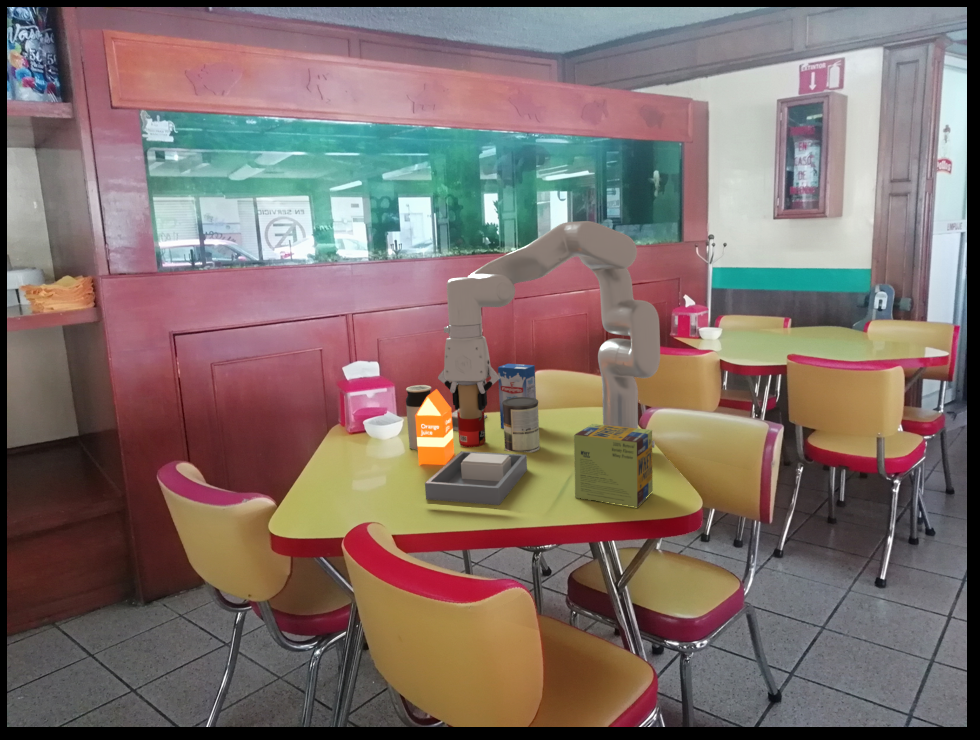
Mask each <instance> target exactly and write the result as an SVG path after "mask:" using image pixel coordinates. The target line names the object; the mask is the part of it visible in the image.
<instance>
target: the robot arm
mask: <svg viewBox="0 0 980 740" xmlns="http://www.w3.org/2000/svg"><path fill="white" fill-rule="evenodd" d="M637 254H638V250H637V244H636V243H635V242H634V240H633V238H631V236H629V235H627V234H625V233H623V232H620V231H617V230H616V229H613V228H610V227H608V226H605V225H603V224H601V223H598V222H595V221H588V220H584V221H583V220H582V221H580V220H579V221H567V222H563V223H560V224H558V225H556V226H555V227H553V228H551V229H550V230H549V231H547V232H545V233H544V234H543V235H541V236H539V237H537V238H536V239H535V240H533V241H532V242H530V243H529V244H527V245H525V246H523V247H521V248H519V249H516V250H514V251H512V252H509V253H507V254H504V255H503V256H500V257H498V258H496V259H493V260H491V261H490V262H487V263H486V264H484V265H483V266H481V267H480V268H478V269H476V270H475V271H473V272H472V273H470V275H468V276H467V277H466V276H464V277H463V276H462V277H453V278H450V279H448V281H446V282H447V283H446V295H447V297H446V298H447V300H446V301H447V313H448V325H447V326H444V327H443V333H444V334H445V333H446V334H448V337H447V338H446V341H445V346H444V359H443V360H444V366H443V367H444V368H443V370H442V371H441V372H440V373H439V374H438V376H437V379H438V380H439V381H440V382H441V383H443V384H444V386H446V388H447V389H448V390H449V391H450V393H451V394H452V405H453V406H454V411H456V410H458V409H459V397H458V384H457V382H462V381H468V382H477V385H478V388H479V390H480V391H479V394H478V407H479V410H483V409H484V410H485V409H486V407H487V406H488V394H487V392H488V391H489V389H490V388H492V386H493V385H494V384H495V383H497V382H499V379H500V377H499V375H498V372H497V371H495V369H494V368H493V367H492V365H491V360H490V359H491V357H490V353H489V347H488V343H487V338H486V337H485V336H483V324H482V323H483V321H482V320H483V319H482V308H484V307H485V308H503V307H505V306H507V305H508V304H510V303H511V302H512V301H513V299H514V297H515V294H516V287H515V284H519V283H526V282H530V281H535V280H537V279H540V278H541V279H542V278H543V277H545V276H547V275H548V274H550V273H551V272H553V271H554V270H555V269H558V268H559V267H560V266H561V265H562V264H564V263H566V262H568V261H569V260H570V259H572V258H575V257H578V259H579V260H580V261H581V263H582V264H583V265H584V266H586V267H587V268H588V269H590V271H591V272H592V273H593V274H594V276H595V277H596V279H597V281H598V286H599V293H600V295H599V296H600V311H601V312H600V313H601V314H600V315H601V323H602V326H603V327H602V328H603V329H604V331H606V332H608V333H610V334H614V335H619V336H620V335H621V336H627V337H628V336H629V337H630V339H628V338H620V337H619V338H617V337H616V338H610V339H607V340H606V341H604V342H603V343H602V344H601V346H600V347H599V349H598V353H597V361H598V368H599V371H600V376H601V386H602V387H601V388H602V389H601V391H602V392H601V393H602V425H609V426H620V427H629V428H637V429H639V409H638V408H639V406H638V405H639V404H638V403H639V402H638V401H639V399H638V397H639V391H638V390H639V389H638V384H637V381H636V379H635V378H638V379H639V378H640V379H648V378H651V377H653V376H654V375H655V374H656V373H657V371H658V370H659V367H660V363H661V362H660V361H661V337H660V335H661V334H660V333H661V332H660V317H659V313H658V311H657V309H656V307H655V306H654V305H653V304H652V303H650V302H648V301H647V300H641V299H634V292H633V291H634V290H633V280H632V277H631V273H630V271H629V269H628V268H629V267H631V266H632V265H633V264H634V262H635V260H636V259H637ZM488 378H490V379H489V380H488V381H487V379H488ZM655 444H656V443H655V440H652V449H653V448H655Z"/></svg>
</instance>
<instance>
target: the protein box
mask: <svg viewBox="0 0 980 740" xmlns="http://www.w3.org/2000/svg"><path fill="white" fill-rule="evenodd" d="M652 441H653V429H647V428H645V429H644V428H638V429H637V428H629V427H620V426H609V425H603V424H597V423H591V424H590V425H589V426H587V427H584V428H583V429H582V430H580V431H578V432H576V433H575V434H574V435H573V443H574V444H573V449H574V451H573V453H574V489H575V490H574V497H576V499H580V498H581V500H585V499H588V500H587V501H591V500H596V501H603V502H609V503H615V504H622V505H628V506H634V507H638V506H639V505H640V504H641V503H642V502H643V501H644V500H645V499H646V497H647V496H648V495H649V494H650V493H651V492H652V491H653V489H654V488H653V484H654V481H653V448H652ZM653 492H654V491H653ZM646 500H647V499H646ZM646 500H645V501H646ZM596 501H595V502H596ZM645 501H644V502H645ZM644 502H643V503H644ZM643 503H642V504H643ZM642 504H641V505H642ZM641 505H640V506H641ZM640 506H639V507H640ZM639 507H638V508H639Z"/></svg>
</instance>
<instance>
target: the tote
mask: <svg viewBox="0 0 980 740" xmlns="http://www.w3.org/2000/svg"><path fill="white" fill-rule="evenodd" d="M470 453H478V454H496V455H509V457H511V469H510V470H509V471H508V472H507V473H506V475H505V476H504V477H503V478H502V479H501V480H500V481H488V480H473V479H462V474H461V463H462V461H463V460H464V459H465V458H466V457H467V456H468V455H469V454H470ZM527 458H528V456H527V454H521V453H520V454H517V453H516V454H515V453H500V452H499V453H498V452H480V451H478V452H477V451H463V450H461V451H460V452H459V453H457V454H456V455H455V456H454V457H452V458H451V459H450V460H449V461H448V462H447V463H446V464H445V465H443V467H441V468H440V469H439V470H438V471H437V472H436V473H434V474H433V475H432V476H431V477H430V478H429V479H428V480H427V481H425V483H424V486H425V487H424V488H425V490H424V491H425V500H430V501H445V502H454V503H455V502H456V503H466V504H467V503H469V504H478V505H479V504H480V505H492V506H500V505H501V503H502V502H503V501H504V500H505V499H506V497H507V496H508V494H509V493H510V492H511V491H512V490H513V488H515V486H516V485H517V483H518V482H519V481H520V479H521V478H522V477H523V476H524V474H525V473H526V472H527V471H528V459H527ZM495 509H496V508H494V510H495Z"/></svg>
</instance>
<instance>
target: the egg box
mask: <svg viewBox="0 0 980 740" xmlns="http://www.w3.org/2000/svg"><path fill="white" fill-rule="evenodd" d="M510 469H511V457H509V455H496V454H478V453H470V454H469V455H468V456H467V457H466V458H465V459H464V460H463V461H462V463H461V474H462V479H473V480H488V481H500V480H501V479H502V478H503V477H504V476H505V475H506V473H507V472H508V471H509V470H510Z"/></svg>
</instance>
